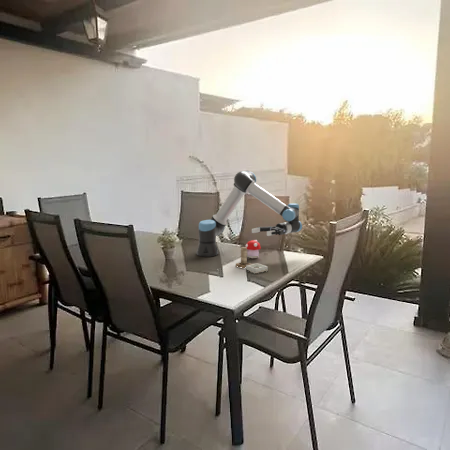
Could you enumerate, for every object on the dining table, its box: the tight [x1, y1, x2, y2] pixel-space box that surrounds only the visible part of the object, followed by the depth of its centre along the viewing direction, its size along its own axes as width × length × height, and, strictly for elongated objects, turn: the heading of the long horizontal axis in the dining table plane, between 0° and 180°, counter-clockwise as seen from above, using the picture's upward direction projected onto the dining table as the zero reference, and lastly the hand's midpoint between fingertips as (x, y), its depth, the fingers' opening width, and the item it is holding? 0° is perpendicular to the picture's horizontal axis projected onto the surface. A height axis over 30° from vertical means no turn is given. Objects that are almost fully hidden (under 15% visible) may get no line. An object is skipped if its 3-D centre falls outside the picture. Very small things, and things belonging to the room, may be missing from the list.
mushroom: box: [245, 239, 262, 257], centre depth 262 cm, size 11×11×12 cm
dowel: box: [240, 246, 248, 265], centre depth 239 cm, size 4×4×12 cm
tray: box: [245, 262, 269, 272], centre depth 231 cm, size 9×9×3 cm
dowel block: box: [235, 262, 252, 269], centre depth 240 cm, size 7×7×2 cm
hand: (259, 232), depth 244 cm, fingers open, 13 cm apart
